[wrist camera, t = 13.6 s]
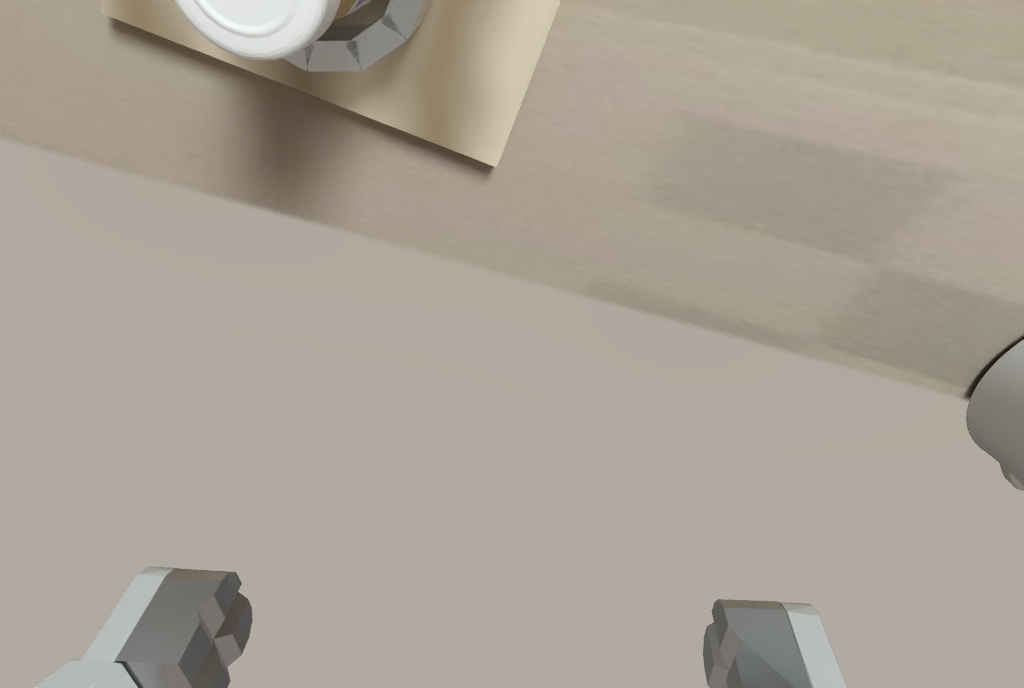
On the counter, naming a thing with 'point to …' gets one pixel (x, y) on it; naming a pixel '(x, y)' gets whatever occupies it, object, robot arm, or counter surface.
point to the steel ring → (362, 40)
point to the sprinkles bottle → (264, 23)
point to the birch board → (408, 67)
